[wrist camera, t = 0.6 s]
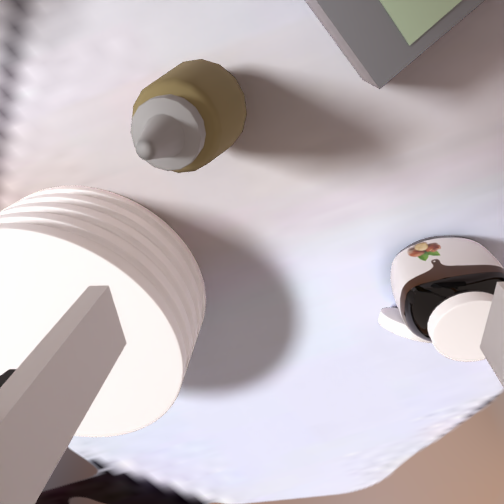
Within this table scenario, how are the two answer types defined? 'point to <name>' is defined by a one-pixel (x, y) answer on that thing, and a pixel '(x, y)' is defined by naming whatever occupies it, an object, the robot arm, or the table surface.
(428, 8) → the switch block
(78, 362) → the robot arm
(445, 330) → the spread jar
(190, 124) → the squeeze bottle
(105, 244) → the plate stack
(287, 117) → the table surface
